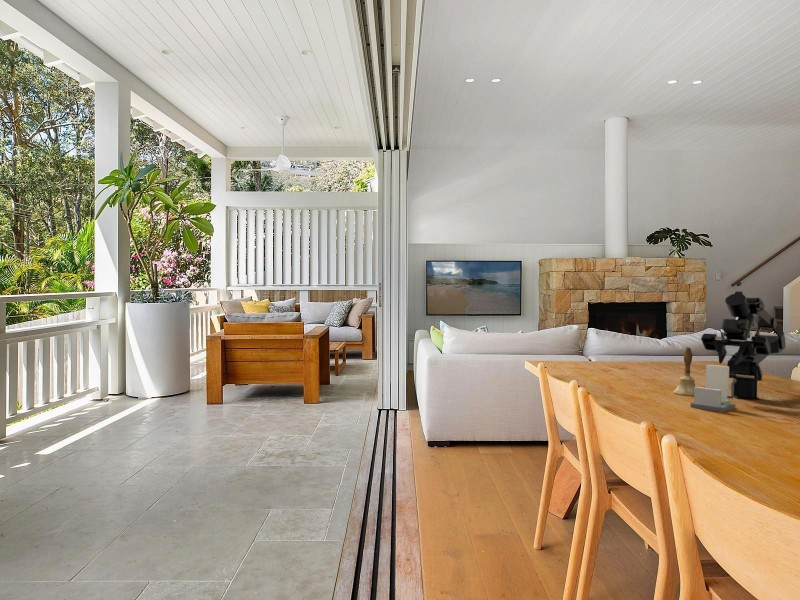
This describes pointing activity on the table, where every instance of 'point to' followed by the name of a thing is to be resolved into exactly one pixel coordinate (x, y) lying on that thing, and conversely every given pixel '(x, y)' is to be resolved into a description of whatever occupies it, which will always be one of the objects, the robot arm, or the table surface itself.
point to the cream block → (718, 380)
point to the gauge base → (710, 400)
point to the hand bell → (686, 377)
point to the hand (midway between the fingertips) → (727, 363)
